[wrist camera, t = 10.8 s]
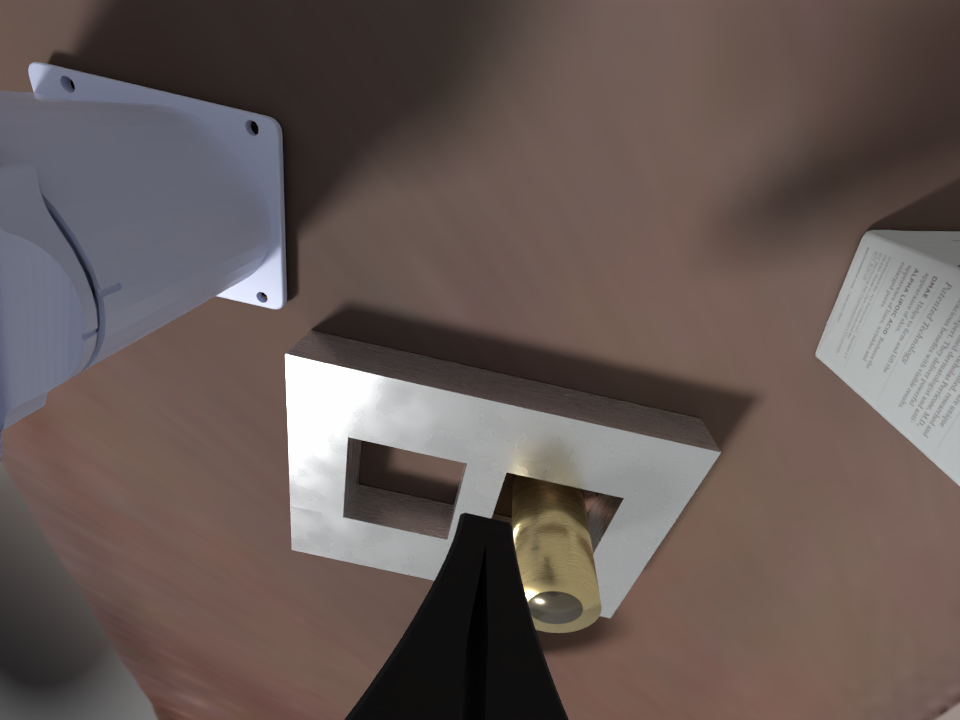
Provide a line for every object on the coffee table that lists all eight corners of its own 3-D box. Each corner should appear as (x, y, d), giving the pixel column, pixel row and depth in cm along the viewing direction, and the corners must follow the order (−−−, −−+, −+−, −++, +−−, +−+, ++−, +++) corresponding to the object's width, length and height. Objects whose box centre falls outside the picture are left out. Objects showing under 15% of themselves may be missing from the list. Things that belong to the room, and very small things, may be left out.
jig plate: (310, 516, 28) (291, 549, 26) (310, 329, 21) (285, 354, 19) (603, 580, 28) (610, 618, 26) (701, 418, 21) (721, 452, 19)
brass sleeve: (505, 502, 25) (499, 622, 19) (523, 454, 23) (522, 572, 17) (569, 517, 26) (583, 641, 20) (592, 470, 24) (616, 593, 18)
